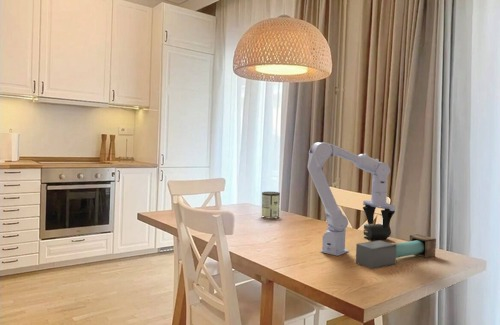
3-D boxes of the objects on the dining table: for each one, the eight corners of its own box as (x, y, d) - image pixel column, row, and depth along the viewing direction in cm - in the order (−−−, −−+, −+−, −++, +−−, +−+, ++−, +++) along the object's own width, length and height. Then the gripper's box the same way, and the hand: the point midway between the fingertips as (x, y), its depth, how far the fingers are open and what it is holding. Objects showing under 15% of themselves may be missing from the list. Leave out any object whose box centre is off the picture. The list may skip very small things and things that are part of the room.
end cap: (372, 241, 170) (372, 226, 170) (362, 237, 177) (363, 223, 177) (390, 240, 174) (391, 225, 173) (380, 236, 180) (381, 222, 180)
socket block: (426, 258, 147) (427, 240, 147) (409, 252, 154) (409, 235, 154) (435, 256, 150) (436, 238, 149) (417, 251, 157) (417, 234, 156)
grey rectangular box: (372, 269, 133) (372, 249, 132) (355, 262, 139) (356, 243, 139) (395, 264, 139) (396, 245, 138) (378, 258, 145) (379, 240, 145)
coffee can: (266, 214, 229) (267, 190, 228) (282, 216, 223) (283, 192, 222) (258, 217, 220) (258, 192, 219) (273, 219, 214) (274, 194, 214)
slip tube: (386, 262, 138) (387, 248, 138) (376, 258, 142) (376, 244, 142) (428, 253, 150) (429, 241, 150) (417, 250, 154) (417, 238, 154)
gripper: (401, 193, 149) (399, 228, 150) (372, 189, 162) (370, 221, 163) (388, 194, 146) (387, 230, 147) (360, 190, 158) (358, 222, 159)
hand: (377, 225), depth 154 cm, fingers open, 7 cm apart
